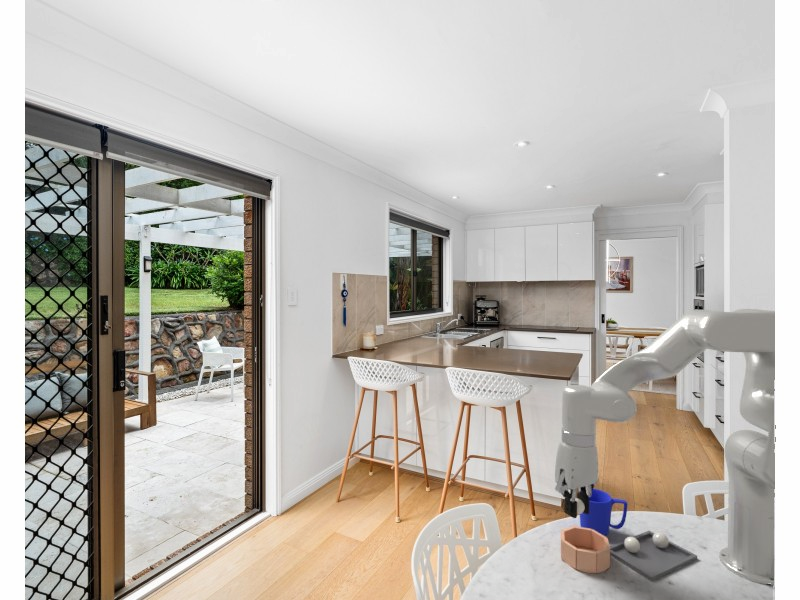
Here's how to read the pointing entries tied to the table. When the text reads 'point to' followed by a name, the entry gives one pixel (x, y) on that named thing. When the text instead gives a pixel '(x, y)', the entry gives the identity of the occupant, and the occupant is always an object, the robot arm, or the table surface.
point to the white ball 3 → (660, 540)
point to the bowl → (585, 549)
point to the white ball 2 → (632, 544)
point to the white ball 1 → (580, 506)
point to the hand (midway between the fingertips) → (576, 512)
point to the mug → (601, 512)
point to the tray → (652, 557)
